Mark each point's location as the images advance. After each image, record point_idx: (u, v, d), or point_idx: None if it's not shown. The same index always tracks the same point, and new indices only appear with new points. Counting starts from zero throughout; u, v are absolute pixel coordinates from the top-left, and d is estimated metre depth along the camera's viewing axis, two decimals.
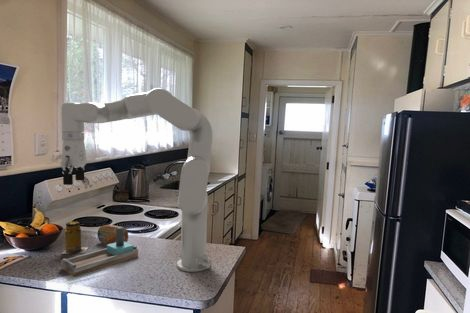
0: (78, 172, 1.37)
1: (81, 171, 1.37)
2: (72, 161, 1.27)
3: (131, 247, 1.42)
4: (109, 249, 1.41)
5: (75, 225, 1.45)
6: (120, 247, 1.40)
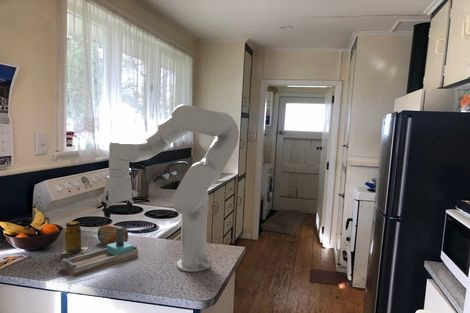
0: None
1: None
2: None
3: (131, 247, 1.42)
4: (109, 249, 1.41)
5: (75, 225, 1.45)
6: (120, 247, 1.40)
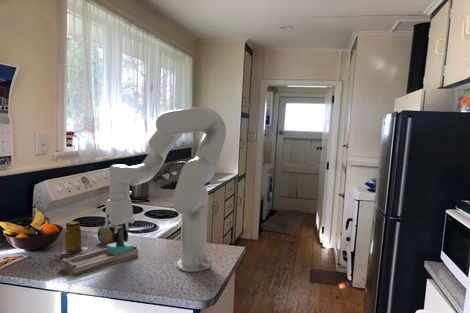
0: None
1: None
2: None
3: (131, 247, 1.42)
4: (109, 249, 1.41)
5: (75, 225, 1.45)
6: (120, 247, 1.40)
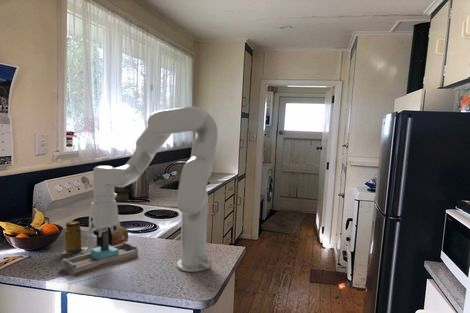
0: None
1: None
2: None
3: (116, 251, 1.37)
4: (93, 254, 1.36)
5: (75, 225, 1.45)
6: (105, 251, 1.34)
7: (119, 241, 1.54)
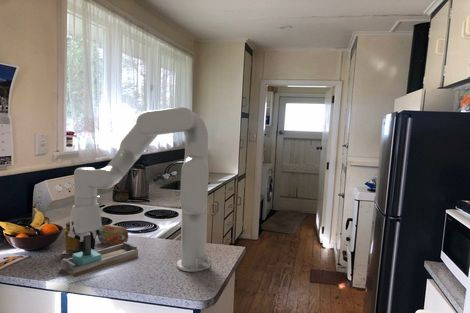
0: None
1: None
2: None
3: (99, 256, 1.31)
4: (74, 259, 1.31)
5: None
6: (86, 257, 1.29)
7: (119, 241, 1.54)
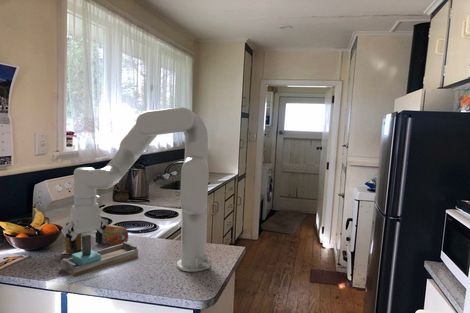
0: None
1: None
2: None
3: (98, 257, 1.31)
4: (74, 259, 1.30)
5: None
6: (86, 257, 1.29)
7: (119, 241, 1.54)
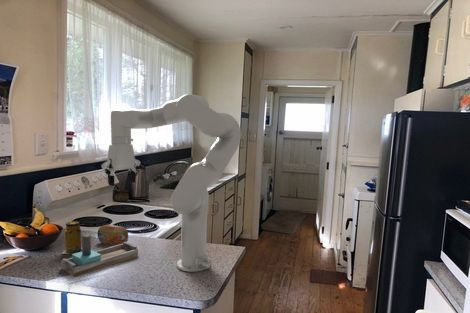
0: None
1: None
2: None
3: (98, 257, 1.31)
4: (74, 259, 1.30)
5: (75, 225, 1.45)
6: (86, 257, 1.29)
7: (119, 241, 1.54)
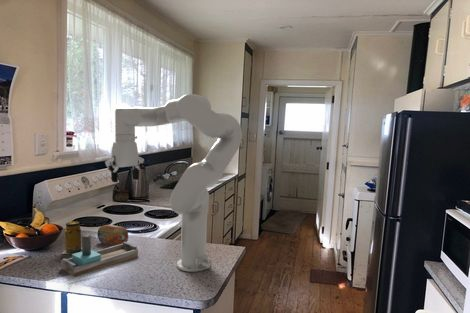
0: None
1: None
2: None
3: (98, 257, 1.31)
4: (74, 259, 1.30)
5: (75, 225, 1.45)
6: (86, 257, 1.29)
7: (119, 241, 1.54)
